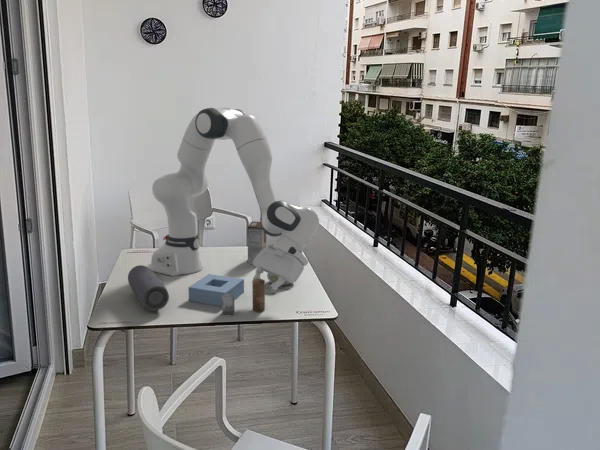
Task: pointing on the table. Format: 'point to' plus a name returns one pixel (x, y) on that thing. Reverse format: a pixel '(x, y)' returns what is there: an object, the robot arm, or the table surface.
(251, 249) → the coffee box
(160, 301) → the bluetooth speaker
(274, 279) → the air freshener
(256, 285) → the long pin
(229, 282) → the collar block
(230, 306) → the short pin
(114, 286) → the table surface
